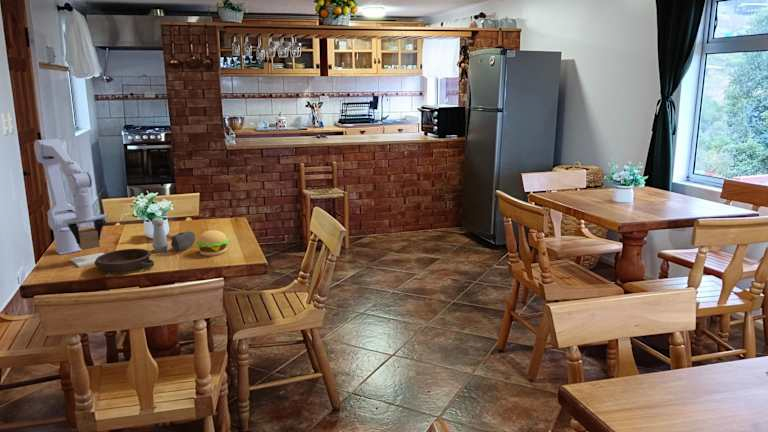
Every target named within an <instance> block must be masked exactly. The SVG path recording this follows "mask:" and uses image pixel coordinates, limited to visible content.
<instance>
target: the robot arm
mask: <svg viewBox="0 0 768 432" xmlns="http://www.w3.org/2000/svg"><path fill="white" fill-rule="evenodd" d="M33 148H34V149H33V150H34V153H35V157H36V158H35V159H36V160H37V162H38V163H39V164H42V167H43V169H44V172H45V178H46V180H47V185H48V188H49V192H50V198H51V201H52V206H51V207H50V208H49V209H48V210H47V222H48V223H47V224H48V226H49V228H50V229H51V230H52V231H54V239H55V245H56V248H53V250H54V251H55V252H56V253H57V254H58V255H65V254H71V253H77V252H82V251H83V250H82V249H81V248H80V247H79V245H78V244H80V239H79V232H78V231H79V225H81V224H86V223H91V222H93V225H94V229H96V230H97V231H98V238H99V241H101V234H102V231H103V230H102V229H103V227H104V225H105V221H108V216H107V215H108V214H106V213H103V214H94V210H93V209H94V208H93V202H92V194H91V187H92V185H93V181H92V179H93V178H92V177H91V174H90V173H89V171H85V170H83V169H82V167H80V165H79V164H78V163H77V161H75V160H72V159H71V158H70V156H69V154H68V145H67V142H66V140H65V139H64V138H62V137H59V138H48V139H36V140H35V142H34V147H33ZM59 164H60V168H59ZM60 170H61V171H62V173H63V175H64V176H65V178H67V184H68V186H69V189H70V194H71V195H72V198H73V205H72V204H70V203H68V200H67V196H66V192H65V189H64V185H63V180H62V175H61V172H60Z"/></svg>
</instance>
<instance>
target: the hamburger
mask: <svg viewBox="0 0 768 432" xmlns="http://www.w3.org/2000/svg"><path fill="white" fill-rule="evenodd" d="M229 241H230V240H229V238H227V236H226V234H225V233H224V232H222V231H220V230H216V229H211V230H207V231H204V232H202V234H200V235H199V237H198V240H196V242H195V243H196V245H197V250H198V251H199V253H200V254H201V255H203V256H205V257H207V256H208V257H210V256H211V257H213V256H215V257H216V256H220V255H223V254H225V253H226V252H227V250H228V247H227V246H228V245H229V243H228V242H229Z"/></svg>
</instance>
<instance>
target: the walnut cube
mask: <svg viewBox="0 0 768 432" xmlns="http://www.w3.org/2000/svg"><path fill="white" fill-rule="evenodd" d="M78 232H79V239H80V244H78V247H79V248H81V249H82V251H84V250H85V251H86V250H90V249H95V248H101V245H100V240H99V238H98V231H97V230H96V229H95V227H91V228H88V229H87V228H86V229H81V230H78Z"/></svg>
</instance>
